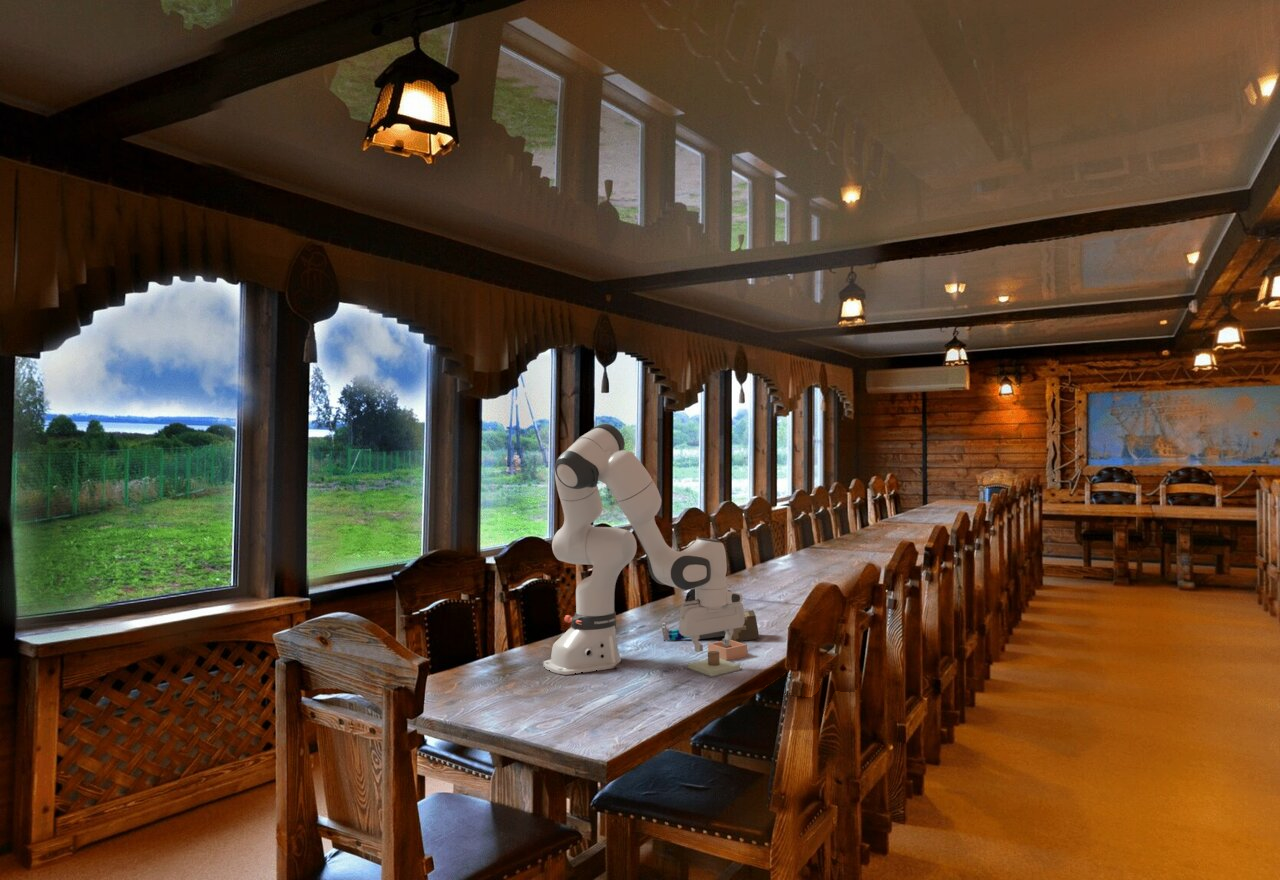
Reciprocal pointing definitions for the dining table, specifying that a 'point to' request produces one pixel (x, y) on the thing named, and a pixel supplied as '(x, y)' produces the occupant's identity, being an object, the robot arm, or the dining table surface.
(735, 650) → the orange square open box
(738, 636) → the toy
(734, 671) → the mat
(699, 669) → the lid
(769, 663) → the dining table surface
